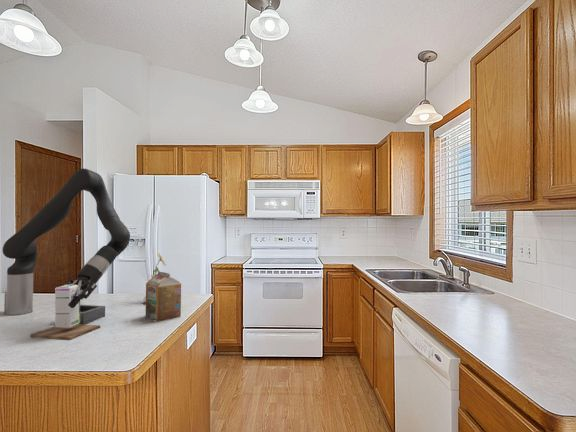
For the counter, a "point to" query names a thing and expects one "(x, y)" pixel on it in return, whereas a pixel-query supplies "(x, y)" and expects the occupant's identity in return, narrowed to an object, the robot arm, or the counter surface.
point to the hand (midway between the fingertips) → (63, 305)
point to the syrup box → (66, 306)
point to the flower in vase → (156, 270)
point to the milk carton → (163, 297)
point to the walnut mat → (65, 332)
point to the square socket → (91, 313)
